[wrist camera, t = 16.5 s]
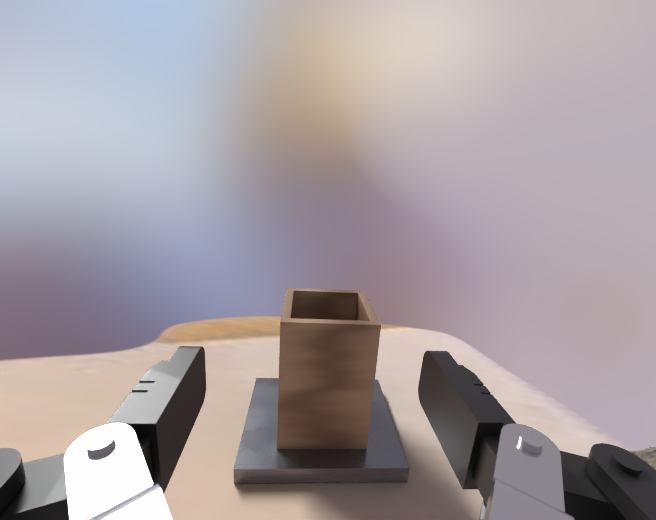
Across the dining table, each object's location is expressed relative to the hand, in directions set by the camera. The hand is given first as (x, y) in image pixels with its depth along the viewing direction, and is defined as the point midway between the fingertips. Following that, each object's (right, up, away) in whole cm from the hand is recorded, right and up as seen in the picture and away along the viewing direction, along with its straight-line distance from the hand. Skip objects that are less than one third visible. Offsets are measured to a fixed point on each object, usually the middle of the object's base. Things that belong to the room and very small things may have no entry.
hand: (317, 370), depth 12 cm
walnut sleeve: (0, -9, +15) cm, 17 cm away
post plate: (0, -10, +15) cm, 18 cm away
